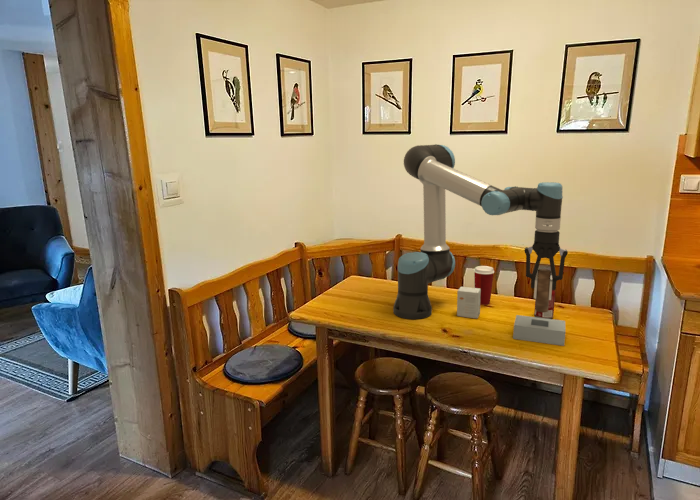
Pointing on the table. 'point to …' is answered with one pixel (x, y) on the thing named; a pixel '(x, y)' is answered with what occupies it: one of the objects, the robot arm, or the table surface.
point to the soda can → (550, 308)
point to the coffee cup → (484, 282)
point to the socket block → (539, 330)
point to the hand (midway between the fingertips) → (542, 298)
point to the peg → (543, 290)
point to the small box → (468, 302)
